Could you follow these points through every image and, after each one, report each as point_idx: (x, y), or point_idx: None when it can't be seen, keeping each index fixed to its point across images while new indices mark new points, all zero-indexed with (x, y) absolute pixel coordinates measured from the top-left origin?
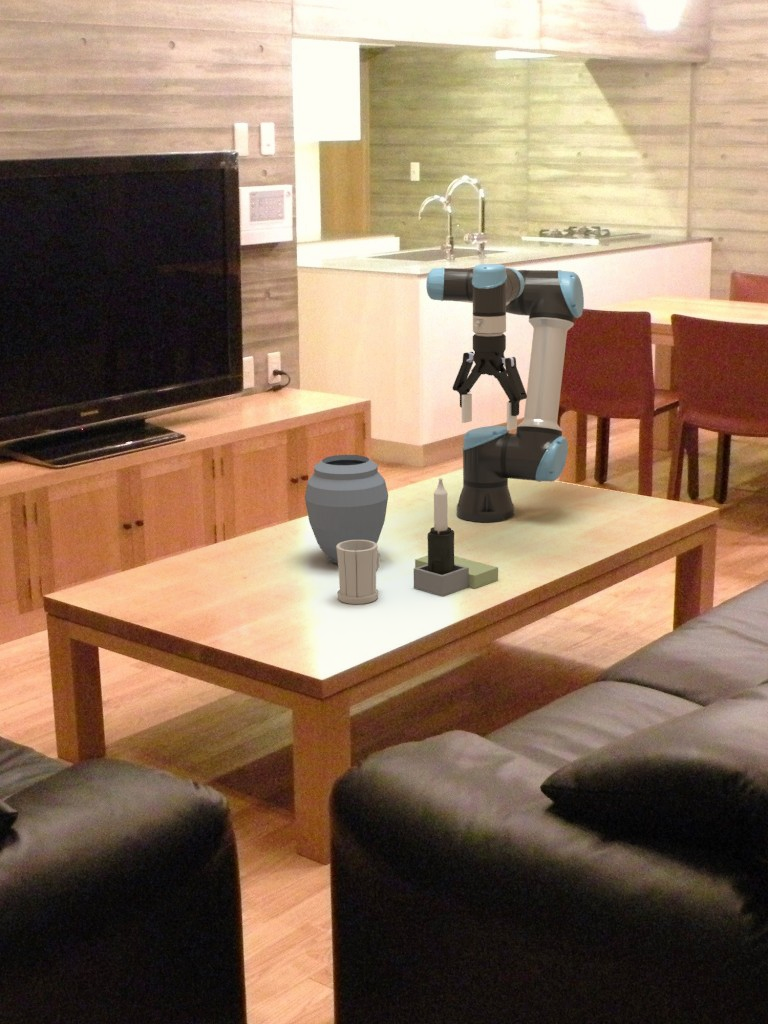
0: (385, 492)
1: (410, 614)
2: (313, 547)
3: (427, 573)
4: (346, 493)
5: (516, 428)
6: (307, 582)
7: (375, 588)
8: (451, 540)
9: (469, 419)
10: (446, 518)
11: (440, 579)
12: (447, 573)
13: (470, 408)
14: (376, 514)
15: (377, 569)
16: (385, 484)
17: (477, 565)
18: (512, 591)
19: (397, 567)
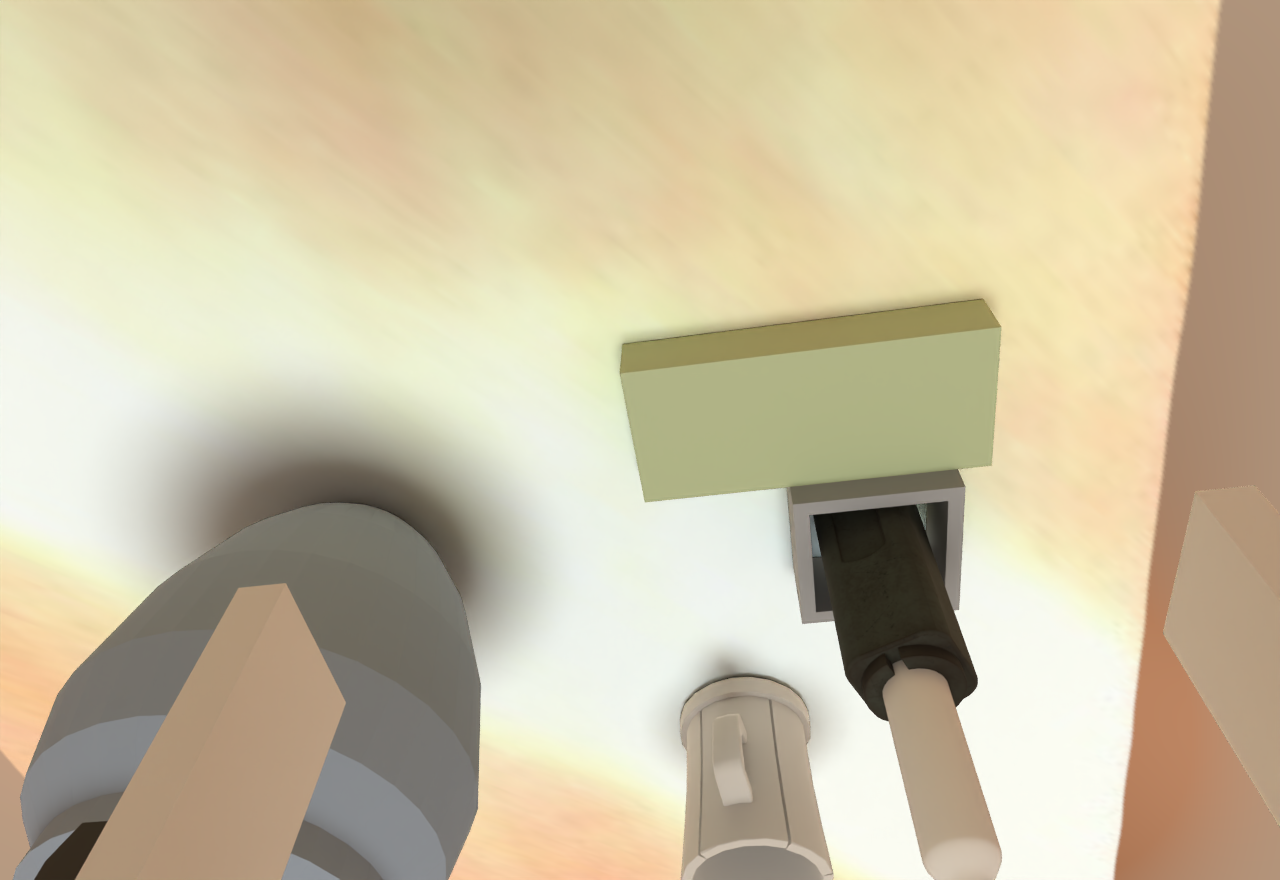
0: (400, 722)
1: (977, 697)
2: (133, 553)
3: None
4: None
5: (1257, 500)
6: (511, 733)
7: (795, 722)
8: (960, 639)
9: (295, 648)
10: (963, 733)
11: None
12: (948, 580)
13: (212, 781)
14: (470, 705)
15: (739, 718)
16: (346, 730)
17: (904, 374)
18: (1128, 348)
19: (549, 480)
